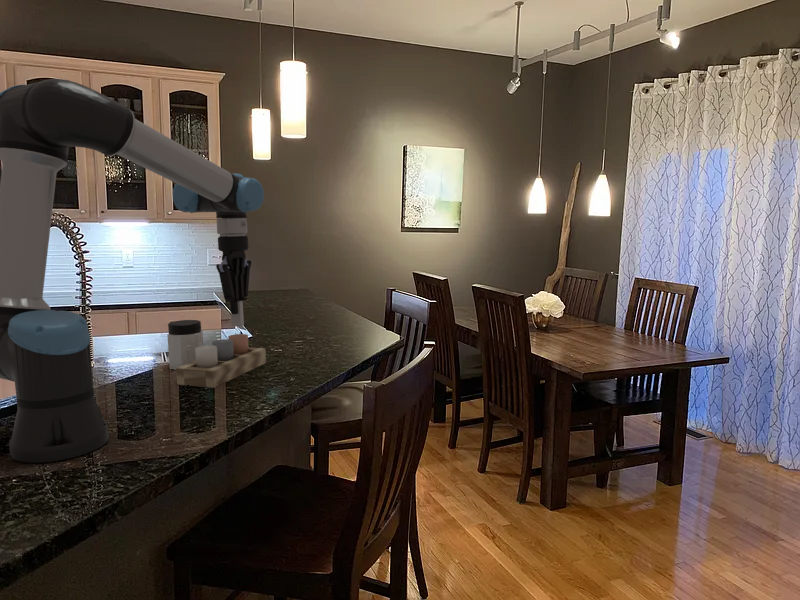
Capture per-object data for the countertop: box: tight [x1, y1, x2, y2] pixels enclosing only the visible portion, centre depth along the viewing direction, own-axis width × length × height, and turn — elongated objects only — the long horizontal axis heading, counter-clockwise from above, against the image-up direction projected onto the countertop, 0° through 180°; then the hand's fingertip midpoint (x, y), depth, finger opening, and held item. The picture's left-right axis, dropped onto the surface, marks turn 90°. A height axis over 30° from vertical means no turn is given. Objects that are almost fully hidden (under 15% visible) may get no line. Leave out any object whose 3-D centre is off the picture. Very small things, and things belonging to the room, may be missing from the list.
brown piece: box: [228, 333, 249, 355], centre depth 159 cm, size 5×5×5 cm
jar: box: [167, 319, 204, 371], centre depth 159 cm, size 9×8×12 cm
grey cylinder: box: [211, 338, 234, 361], centre depth 152 cm, size 5×5×5 cm
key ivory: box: [195, 344, 218, 368], centre depth 146 cm, size 5×5×5 cm
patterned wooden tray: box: [175, 346, 267, 389], centre depth 153 cm, size 24×10×4 cm, turn 163°
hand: (237, 325), depth 158 cm, fingers closed
